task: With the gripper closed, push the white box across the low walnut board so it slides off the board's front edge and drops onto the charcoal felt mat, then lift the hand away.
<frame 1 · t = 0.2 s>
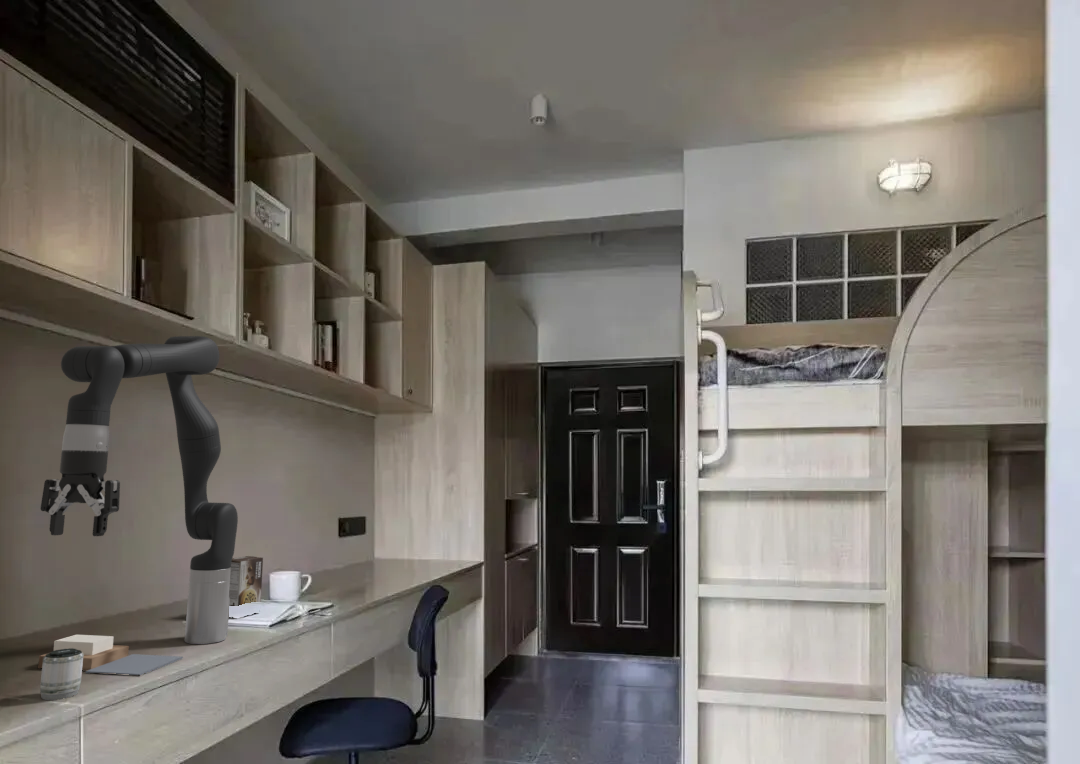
hand: (77, 535, 133), 29 cm above the table, tool pointing down, fingers open, 8 cm apart
camera lens: (59, 696, 130), on the table
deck: (84, 662, 151), on the table
coffee box: (240, 616, 204), on the table
white box: (83, 650, 152), point 2 cm above the table, touching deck
mat: (136, 665, 150), on the table
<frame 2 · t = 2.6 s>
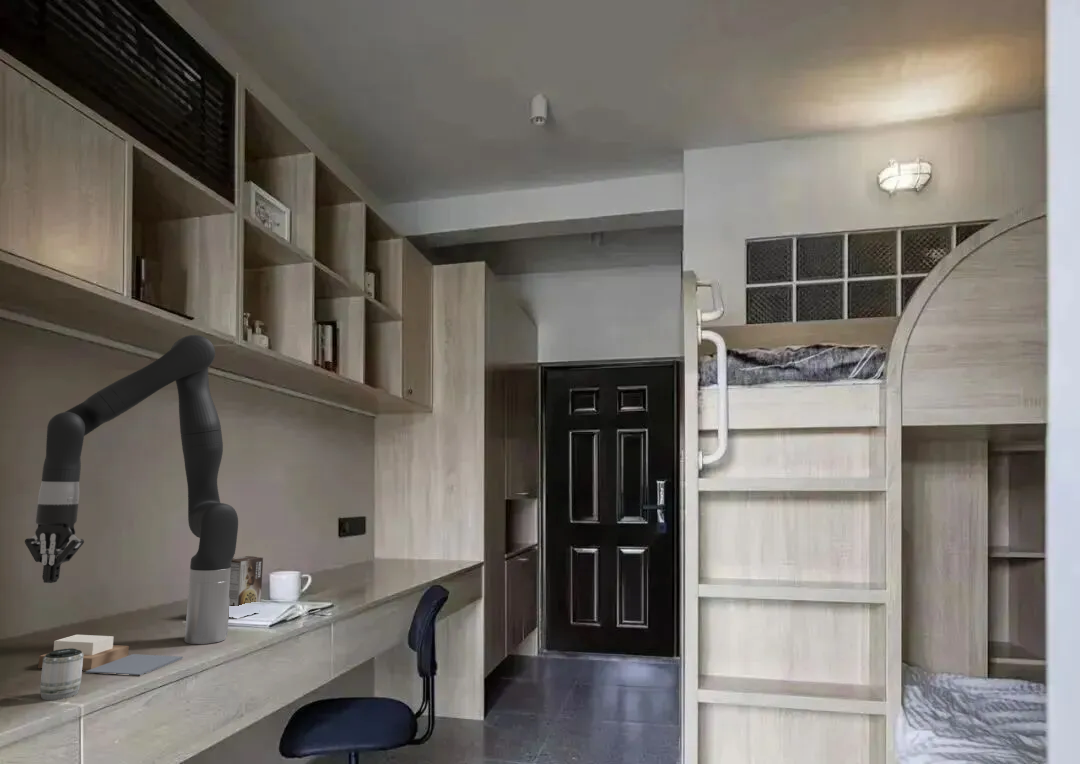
hand: (50, 582, 155), 16 cm above the table, tool pointing down, fingers closed
nothing on the table moved.
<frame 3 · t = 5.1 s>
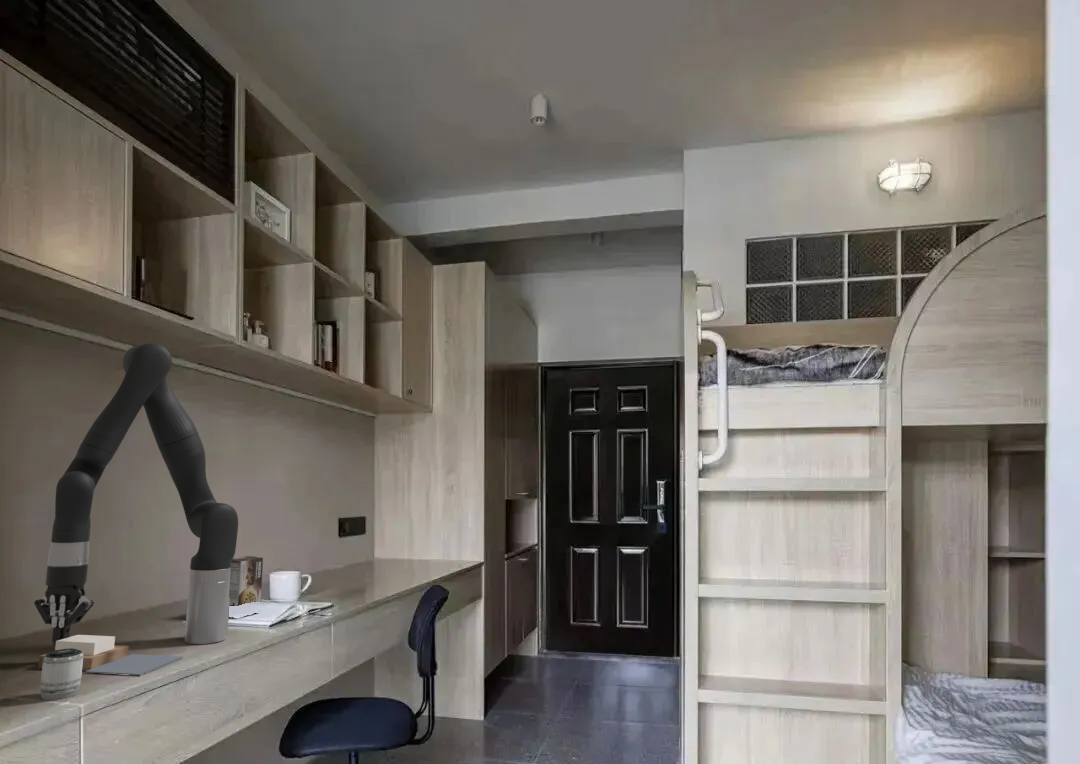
hand: (59, 644, 153), 3 cm above the table, tool pointing down, fingers closed
white box: (84, 650, 152), point 2 cm above the table, touching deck, gripper
everything else where it was.
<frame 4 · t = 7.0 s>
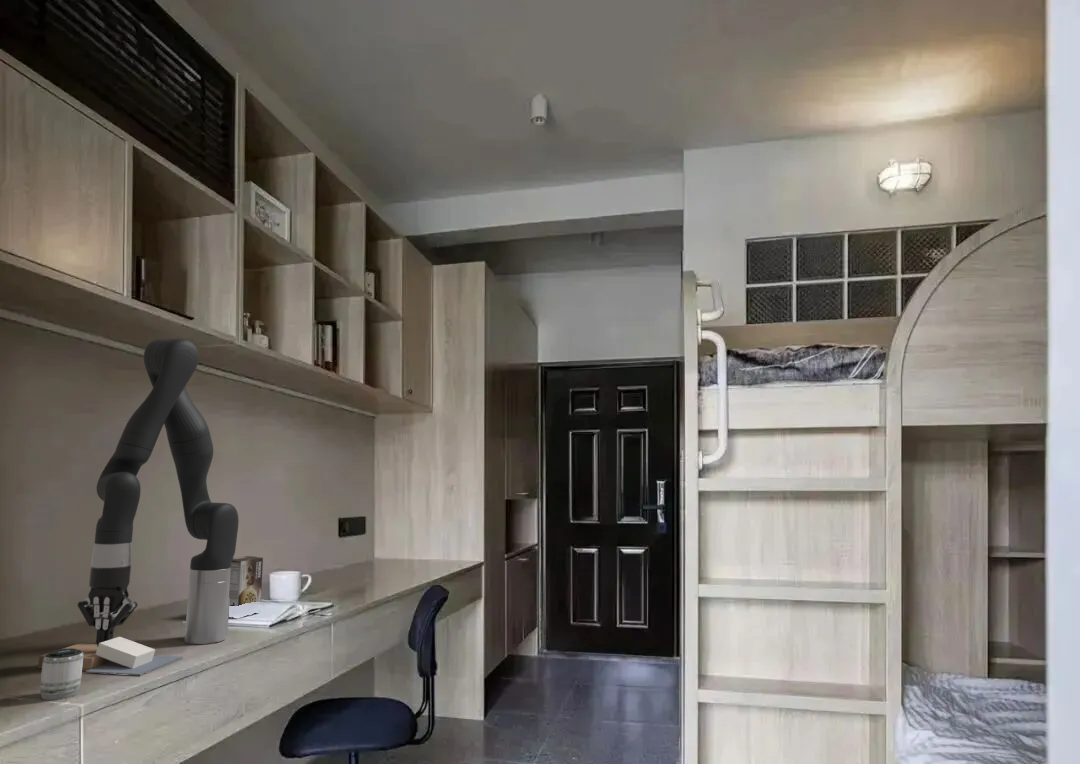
hand: (103, 646, 152), 3 cm above the table, tool pointing down, fingers closed
white box: (124, 658, 150), point 2 cm above the table, tilted 15°, touching gripper
everything else where it was.
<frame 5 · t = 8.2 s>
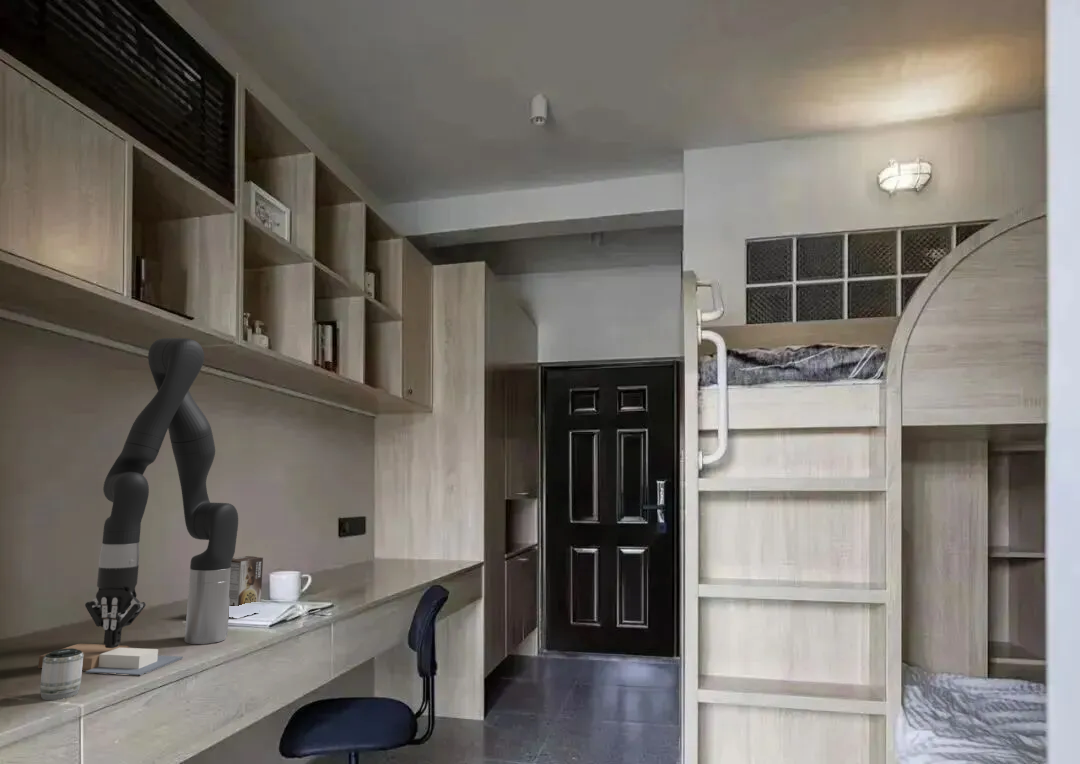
hand: (111, 647, 151), 4 cm above the table, tool pointing down, fingers closed
white box: (128, 664, 150), resting on mat
everything else where it was.
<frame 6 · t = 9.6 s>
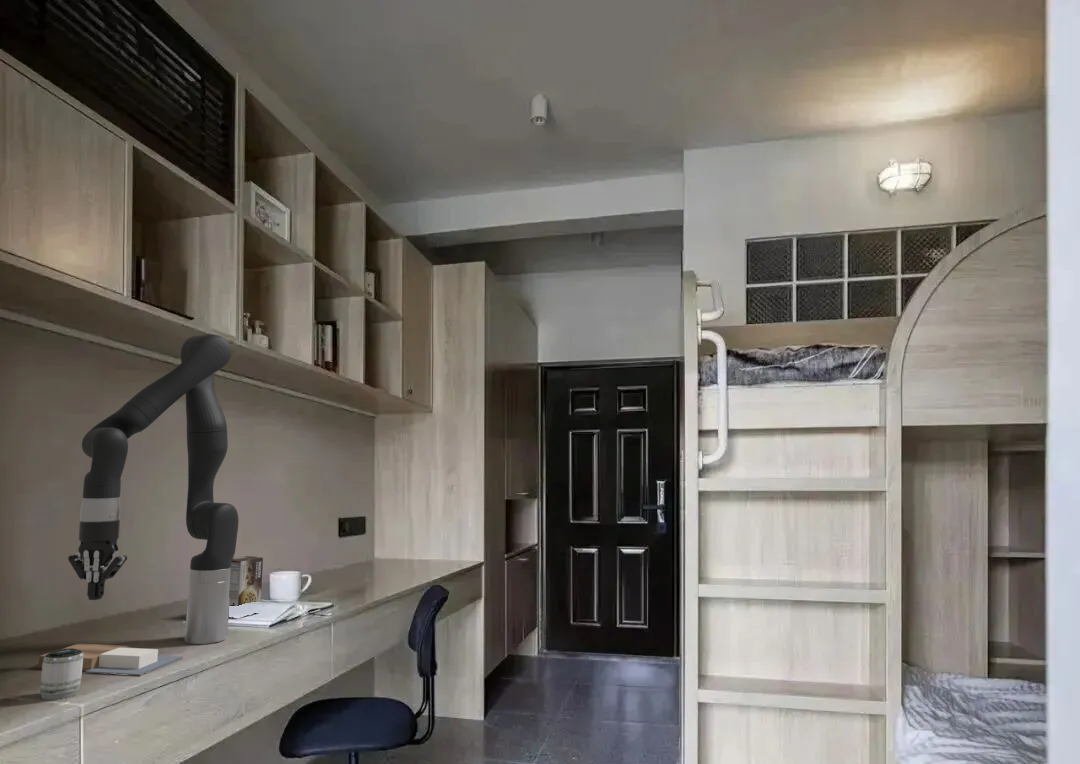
hand: (95, 599, 154), 13 cm above the table, tool pointing down, fingers closed
nothing on the table moved.
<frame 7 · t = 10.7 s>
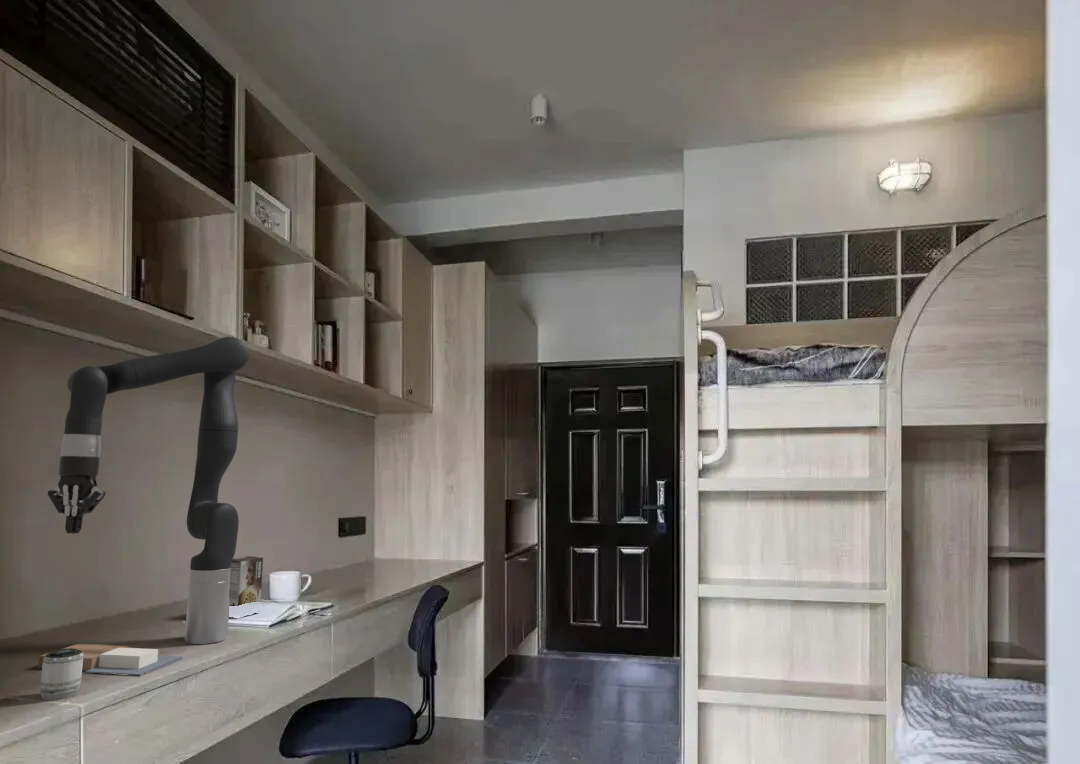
hand: (72, 533, 157), 27 cm above the table, tool pointing down, fingers closed
nothing on the table moved.
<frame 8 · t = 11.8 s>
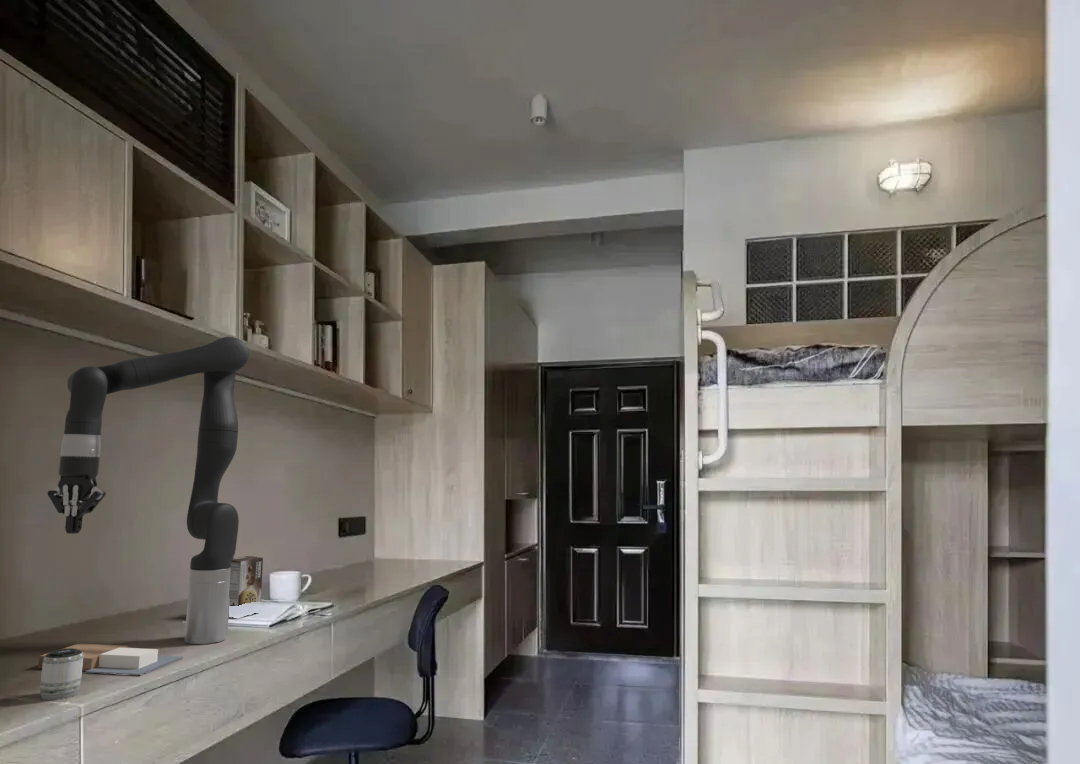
hand: (72, 533, 157), 27 cm above the table, tool pointing down, fingers closed
nothing on the table moved.
at the end: white box inside the target area on the mat (1.5 cm from its centre), point 0.4 cm above the mat's base; white box resting on mat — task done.
